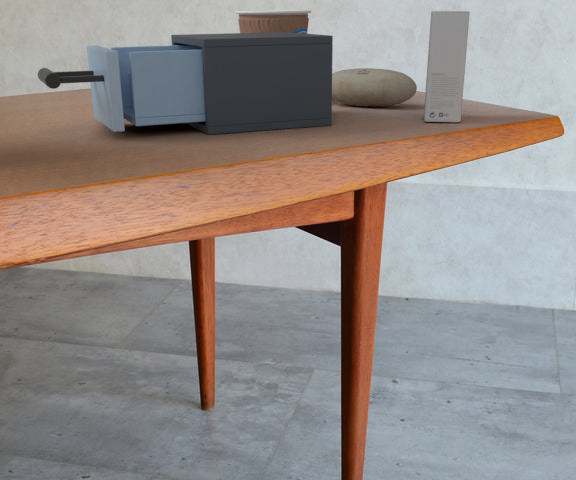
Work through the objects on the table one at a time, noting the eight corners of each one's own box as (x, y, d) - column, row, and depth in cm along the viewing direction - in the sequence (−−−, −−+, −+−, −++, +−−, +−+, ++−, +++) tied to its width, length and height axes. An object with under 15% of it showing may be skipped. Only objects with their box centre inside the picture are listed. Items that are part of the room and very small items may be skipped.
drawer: (54, 136, 72) (44, 53, 69) (41, 120, 82) (32, 47, 79) (238, 123, 79) (236, 47, 76) (206, 110, 89) (203, 42, 86)
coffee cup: (288, 107, 97) (287, 10, 93) (224, 102, 102) (220, 10, 98) (323, 98, 106) (324, 9, 101) (262, 95, 111) (261, 9, 106)
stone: (415, 89, 92) (325, 60, 93) (401, 132, 96) (315, 103, 98) (424, 70, 96) (338, 42, 97) (410, 112, 100) (328, 84, 102)
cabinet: (208, 134, 78) (203, 39, 74) (176, 119, 88) (171, 34, 85) (331, 125, 83) (332, 35, 80) (287, 111, 94) (286, 32, 90)
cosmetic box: (461, 123, 84) (470, 10, 79) (423, 122, 84) (430, 11, 80) (459, 115, 89) (467, 10, 85) (423, 115, 90) (429, 10, 86)
